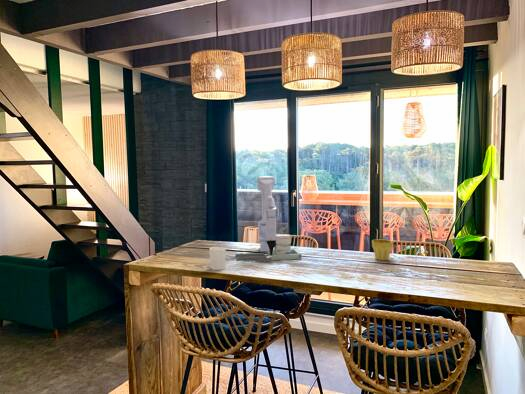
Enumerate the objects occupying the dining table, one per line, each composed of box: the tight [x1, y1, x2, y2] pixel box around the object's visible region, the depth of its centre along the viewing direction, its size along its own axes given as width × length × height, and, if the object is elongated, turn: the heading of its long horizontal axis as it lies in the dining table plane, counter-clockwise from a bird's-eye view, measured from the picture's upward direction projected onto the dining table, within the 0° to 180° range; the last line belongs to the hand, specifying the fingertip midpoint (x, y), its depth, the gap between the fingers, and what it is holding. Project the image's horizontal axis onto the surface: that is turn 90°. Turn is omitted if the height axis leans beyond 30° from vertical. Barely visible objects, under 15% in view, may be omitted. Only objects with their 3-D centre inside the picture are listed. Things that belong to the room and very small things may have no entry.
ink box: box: [273, 234, 292, 255], centre depth 222 cm, size 8×5×12 cm, turn 99°
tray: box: [267, 248, 302, 261], centre depth 222 cm, size 14×16×2 cm
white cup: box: [209, 246, 226, 271], centre depth 196 cm, size 8×8×10 cm
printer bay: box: [234, 252, 268, 261], centre depth 219 cm, size 9×16×2 cm, turn 98°
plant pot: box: [371, 238, 393, 261], centre depth 214 cm, size 10×10×10 cm
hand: (271, 254), depth 221 cm, fingers closed
